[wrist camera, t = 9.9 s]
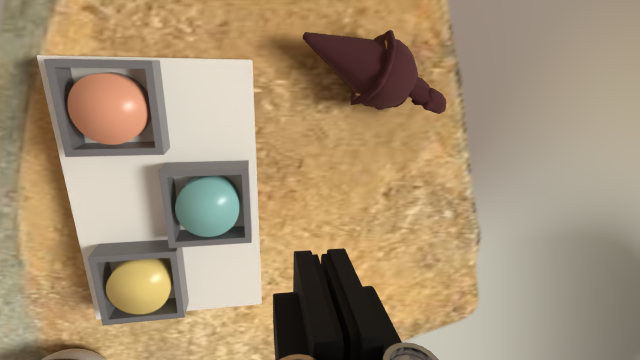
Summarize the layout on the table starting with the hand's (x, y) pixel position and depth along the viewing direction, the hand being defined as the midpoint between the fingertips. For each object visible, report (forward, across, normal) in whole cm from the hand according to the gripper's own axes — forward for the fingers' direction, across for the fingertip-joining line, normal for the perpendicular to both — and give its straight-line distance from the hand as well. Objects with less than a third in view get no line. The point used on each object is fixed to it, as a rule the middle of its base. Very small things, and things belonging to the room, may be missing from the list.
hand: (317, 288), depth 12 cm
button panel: (+27, +10, +6) cm, 30 cm away
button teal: (+24, +6, +6) cm, 25 cm away
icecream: (+27, -9, -6) cm, 29 cm away
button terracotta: (+24, +13, -3) cm, 27 cm away
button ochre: (+24, +13, +14) cm, 31 cm away
